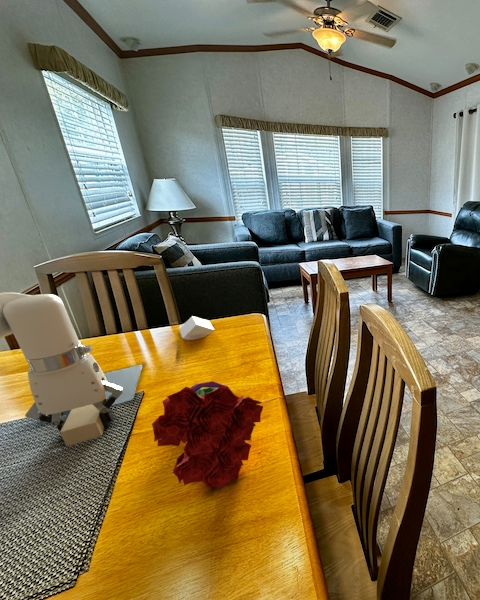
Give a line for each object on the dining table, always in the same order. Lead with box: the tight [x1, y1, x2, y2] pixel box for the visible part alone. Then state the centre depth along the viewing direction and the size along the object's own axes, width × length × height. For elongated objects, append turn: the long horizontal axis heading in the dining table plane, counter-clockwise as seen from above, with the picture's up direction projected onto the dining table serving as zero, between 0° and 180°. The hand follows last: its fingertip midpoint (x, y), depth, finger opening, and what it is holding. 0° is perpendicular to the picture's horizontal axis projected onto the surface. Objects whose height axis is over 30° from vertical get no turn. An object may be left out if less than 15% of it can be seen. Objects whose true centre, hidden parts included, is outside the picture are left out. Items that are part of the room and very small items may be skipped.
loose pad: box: [59, 404, 105, 447], centre depth 70 cm, size 6×8×4 cm
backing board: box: [41, 363, 144, 425], centre depth 82 cm, size 16×18×1 cm
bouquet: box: [151, 380, 264, 491], centre depth 67 cm, size 20×16×30 cm
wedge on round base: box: [178, 315, 215, 341], centre depth 110 cm, size 9×7×13 cm
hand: (89, 429), depth 70 cm, fingers closed on loose pad, 5 cm apart
